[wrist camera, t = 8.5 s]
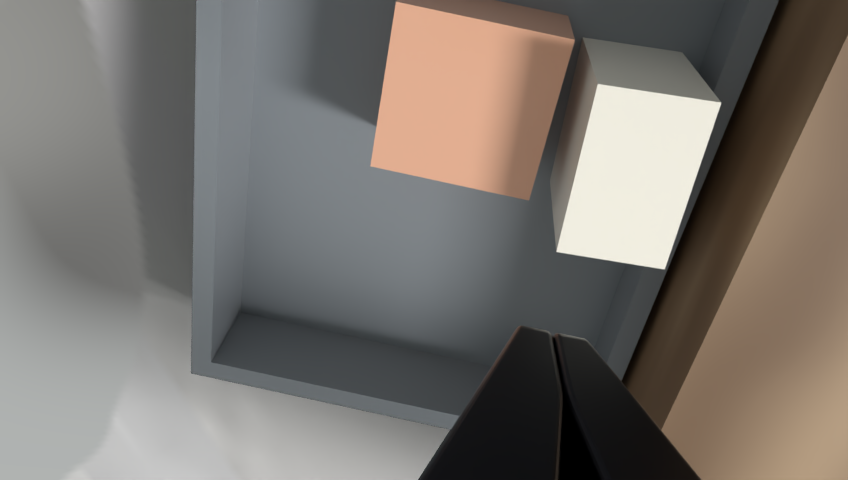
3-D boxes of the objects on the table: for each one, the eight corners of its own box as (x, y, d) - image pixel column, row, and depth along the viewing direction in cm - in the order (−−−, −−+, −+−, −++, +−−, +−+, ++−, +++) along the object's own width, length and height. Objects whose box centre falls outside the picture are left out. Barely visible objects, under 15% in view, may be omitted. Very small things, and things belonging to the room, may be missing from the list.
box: (888, -363, 14) (973, -412, 11) (592, 394, 24) (600, 462, 21) (261, -487, 14) (204, -562, 12) (226, 315, 24) (191, 373, 21)
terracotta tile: (395, 1, 16) (410, -18, 18) (370, 166, 18) (386, 130, 20) (575, 39, 16) (568, 15, 18) (528, 200, 18) (528, 161, 20)
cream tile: (721, 102, 14) (597, 84, 14) (664, 269, 16) (556, 252, 16) (682, 52, 18) (582, 37, 18) (639, 194, 20) (549, 180, 20)
